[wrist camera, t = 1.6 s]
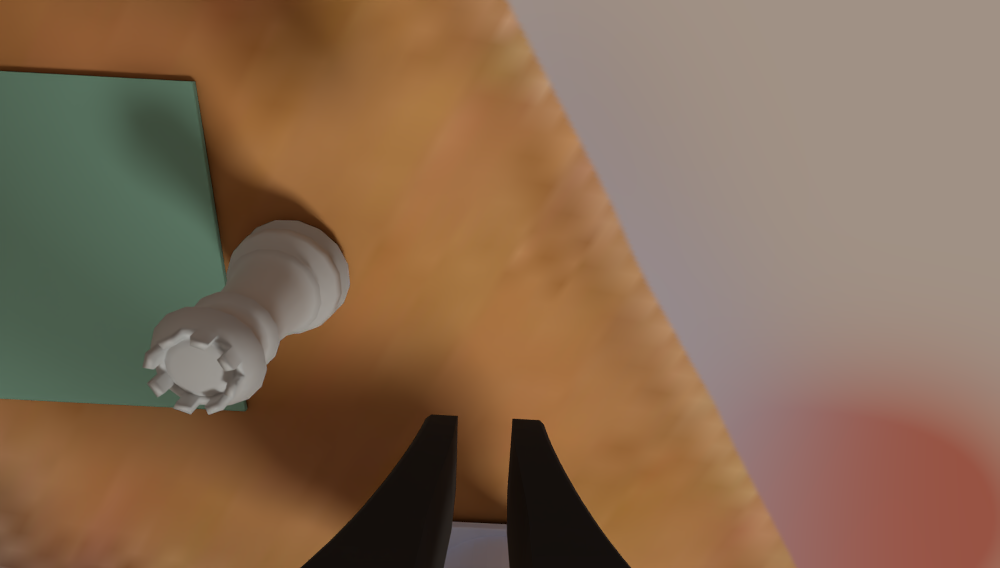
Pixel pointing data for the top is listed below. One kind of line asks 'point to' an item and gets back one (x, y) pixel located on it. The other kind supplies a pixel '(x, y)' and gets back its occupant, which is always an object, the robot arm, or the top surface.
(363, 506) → the robot arm
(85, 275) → the felt mat
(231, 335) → the rook chess piece
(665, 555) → the top surface
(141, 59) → the top surface
